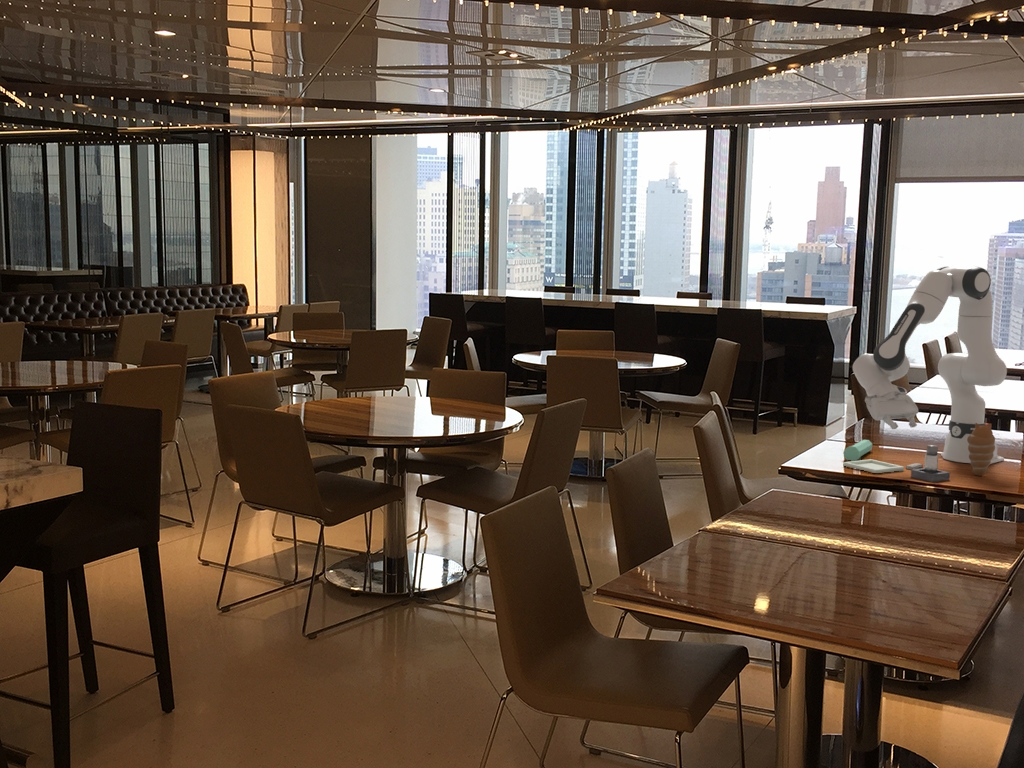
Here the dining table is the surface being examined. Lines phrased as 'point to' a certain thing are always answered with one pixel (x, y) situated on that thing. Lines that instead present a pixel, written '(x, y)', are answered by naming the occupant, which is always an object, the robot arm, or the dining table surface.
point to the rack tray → (873, 466)
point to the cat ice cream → (981, 448)
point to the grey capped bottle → (931, 459)
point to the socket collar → (930, 475)
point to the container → (857, 450)
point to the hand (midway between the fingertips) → (904, 427)
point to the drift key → (914, 466)
